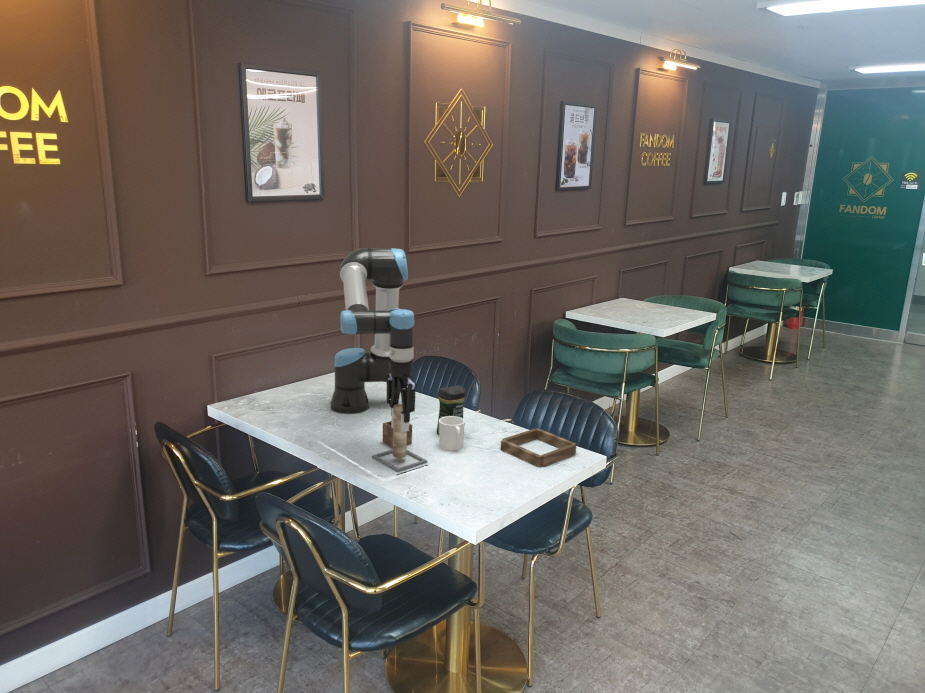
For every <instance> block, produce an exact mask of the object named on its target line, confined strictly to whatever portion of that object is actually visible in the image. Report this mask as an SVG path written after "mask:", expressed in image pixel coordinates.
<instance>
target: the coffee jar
mask: <svg viewBox="0 0 925 693" xmlns="http://www.w3.org/2000/svg"><path fill="white" fill-rule="evenodd" d="M437 397H438V402H439V410H438V419H437V424H436V435H438V436H439V419H440V418H442V417H446V416H456V417H460V418H463V419H464V407H465V406H464V404H465V401H466V398H467V397H466V388H465V387H463V386H461V385H460V384H459V385H458V384H456V385H452V386H447V387H440V388H439V390H438V396H437Z"/></svg>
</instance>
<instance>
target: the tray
mask: <svg viewBox="0 0 925 693" xmlns="http://www.w3.org/2000/svg"><path fill="white" fill-rule="evenodd" d="M390 454H391V455H393V448H392V449H389V450H385V451H382V452H378V453H376V454H373V455H372V454H371V459H374V460H375V461H376V462H378V463H381V464H382V465H383V466H386V467H387V468H389V469H391V470H392V471H394V472H396V473H397V474H396V476H400V475H403V474H406V473H408V472H412V471H414V470H418V469H421V468H424V466H425V467H427V466H428V459H425V458H423V457H422V456H419V455H418V454H416V453H414V452H413V451H410V450H408V449H406V455H408V456H410V457H411V458H413V459H415V460H416V462H413V463H410V464H407V465H404V466H401V467H397V466H395V465H393V464H392V463H390V462H389V461H387V460H384V459H383V458H381V457H384V456H387V455H390ZM409 469H410V470H409Z"/></svg>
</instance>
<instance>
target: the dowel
mask: <svg viewBox="0 0 925 693" xmlns="http://www.w3.org/2000/svg"><path fill="white" fill-rule="evenodd" d="M401 412H403V408H402V403H398V404H395V405H394V407H393V448H392V449H393V453H392V456H393V457H394V458H397V459H403V458H406V457H407V454H406V450H407V446H408V445H407V431H406V432H401Z"/></svg>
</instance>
